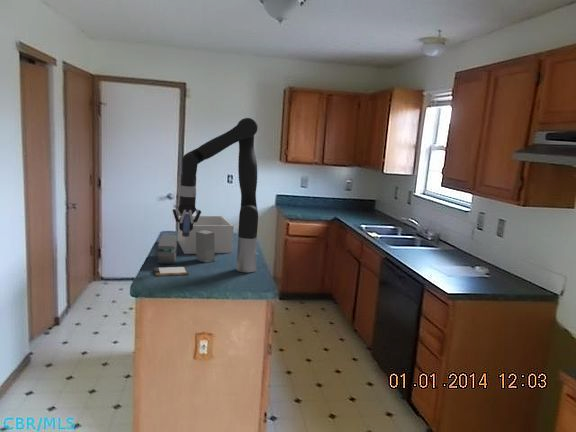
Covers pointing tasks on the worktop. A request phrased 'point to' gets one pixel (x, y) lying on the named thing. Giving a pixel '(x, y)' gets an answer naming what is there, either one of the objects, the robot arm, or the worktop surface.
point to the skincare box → (205, 246)
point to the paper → (172, 270)
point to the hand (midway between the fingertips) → (185, 230)
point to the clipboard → (170, 273)
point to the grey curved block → (167, 249)
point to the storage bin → (212, 224)
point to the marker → (186, 225)
